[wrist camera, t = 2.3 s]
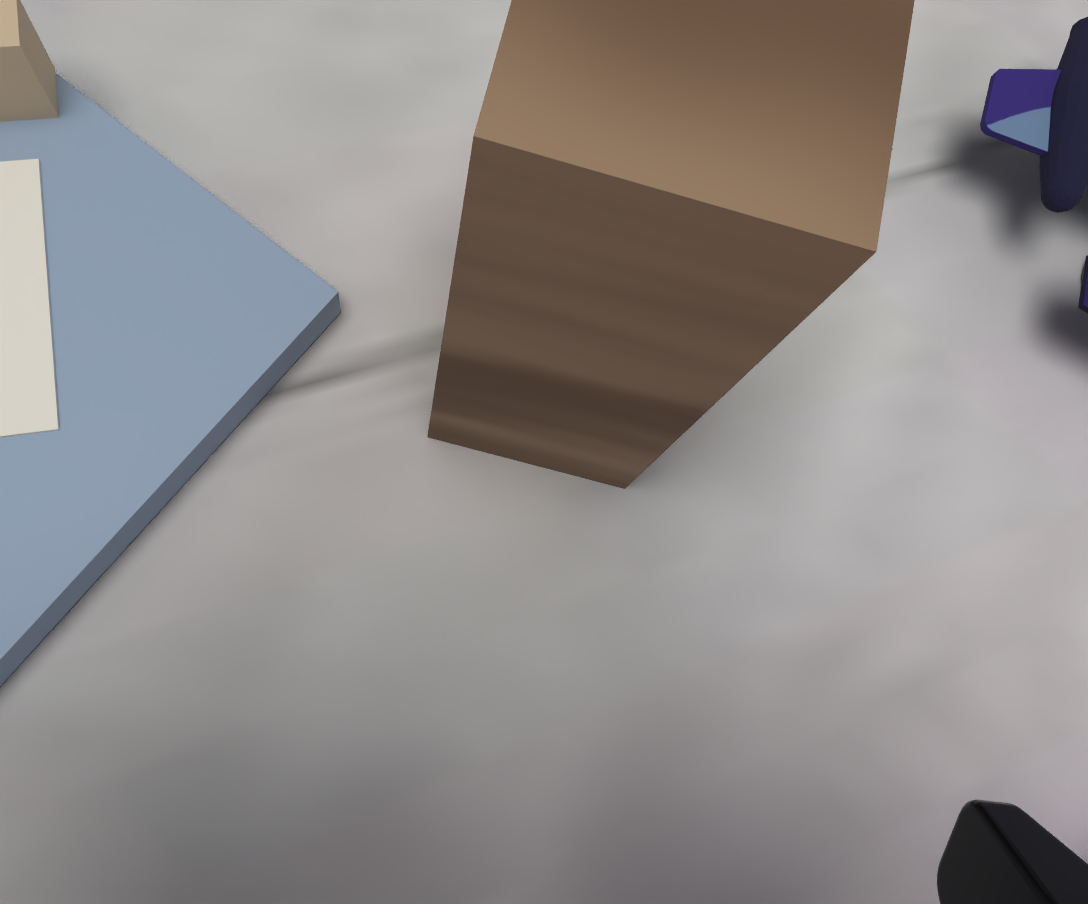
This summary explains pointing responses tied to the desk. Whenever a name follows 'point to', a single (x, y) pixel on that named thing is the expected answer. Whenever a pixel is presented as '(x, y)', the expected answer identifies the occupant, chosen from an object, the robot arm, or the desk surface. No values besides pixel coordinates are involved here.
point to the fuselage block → (657, 214)
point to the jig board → (115, 335)
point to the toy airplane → (1048, 123)
